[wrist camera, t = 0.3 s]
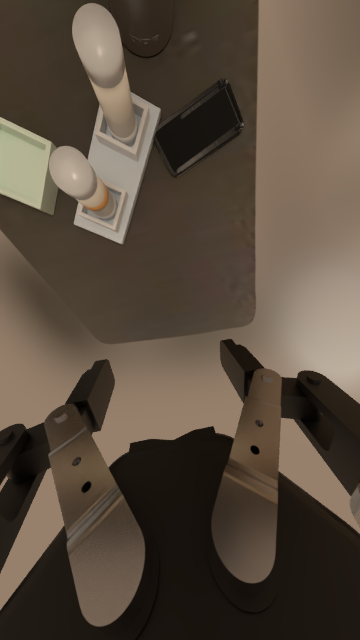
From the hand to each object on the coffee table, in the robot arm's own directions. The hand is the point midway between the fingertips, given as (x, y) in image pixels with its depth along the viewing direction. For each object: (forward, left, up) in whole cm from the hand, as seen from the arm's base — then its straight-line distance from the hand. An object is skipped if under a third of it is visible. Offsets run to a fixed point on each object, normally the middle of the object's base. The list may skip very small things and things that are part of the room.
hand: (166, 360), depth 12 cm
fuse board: (-23, -7, -27) cm, 37 cm away
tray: (-24, -22, -27) cm, 43 cm away
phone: (-29, +8, -28) cm, 41 cm away
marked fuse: (-18, -10, -26) cm, 33 cm away
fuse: (-29, -5, -26) cm, 39 cm away
